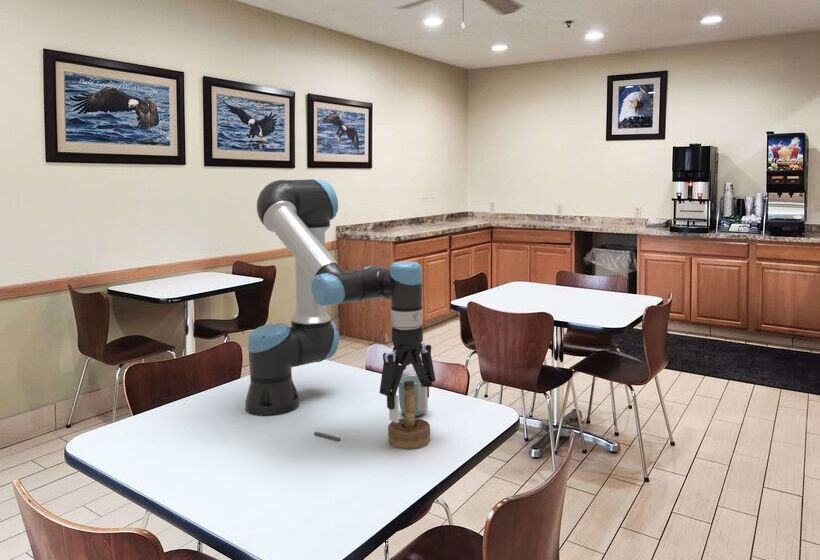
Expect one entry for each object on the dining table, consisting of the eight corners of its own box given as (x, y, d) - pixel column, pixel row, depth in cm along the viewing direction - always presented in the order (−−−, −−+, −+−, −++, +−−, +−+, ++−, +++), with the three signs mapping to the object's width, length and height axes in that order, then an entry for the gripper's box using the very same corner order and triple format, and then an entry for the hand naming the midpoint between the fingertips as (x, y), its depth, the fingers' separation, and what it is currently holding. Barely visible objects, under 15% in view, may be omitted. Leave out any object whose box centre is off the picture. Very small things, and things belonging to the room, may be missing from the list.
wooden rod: (402, 441, 155) (401, 382, 153) (410, 438, 156) (409, 380, 154) (409, 444, 153) (408, 384, 151) (417, 441, 155) (416, 382, 152)
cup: (424, 420, 168) (424, 384, 167) (396, 418, 170) (395, 383, 168) (429, 409, 176) (428, 375, 174) (402, 408, 177) (401, 374, 176)
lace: (314, 434, 160) (314, 432, 160) (316, 433, 160) (316, 431, 160) (338, 441, 155) (338, 439, 155) (340, 440, 156) (340, 437, 156)
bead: (380, 440, 155) (380, 425, 155) (410, 429, 162) (410, 415, 161) (407, 452, 148) (407, 436, 147) (437, 441, 154) (437, 425, 154)
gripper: (382, 336, 141) (384, 432, 144) (449, 321, 155) (450, 409, 158) (362, 331, 146) (364, 423, 150) (428, 317, 160) (430, 401, 164)
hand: (408, 416), depth 154 cm, fingers open, 9 cm apart
